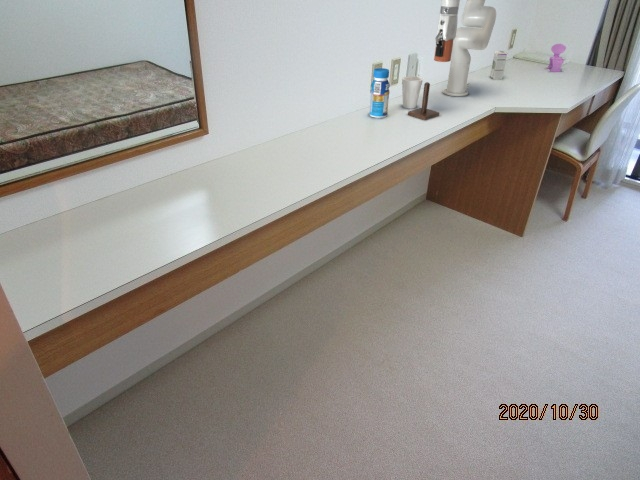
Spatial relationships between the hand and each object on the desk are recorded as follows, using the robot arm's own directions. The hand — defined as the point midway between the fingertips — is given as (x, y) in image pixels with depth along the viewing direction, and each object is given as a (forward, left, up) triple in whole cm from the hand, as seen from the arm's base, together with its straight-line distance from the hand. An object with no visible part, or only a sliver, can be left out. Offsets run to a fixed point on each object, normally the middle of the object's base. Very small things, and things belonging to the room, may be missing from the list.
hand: (443, 54), depth 201 cm
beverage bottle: (+29, -10, -24) cm, 39 cm away
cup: (0, 0, -2) cm, 2 cm away
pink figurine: (-120, -3, -24) cm, 123 cm away
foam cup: (+7, -10, -24) cm, 27 cm away
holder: (+13, +3, -24) cm, 27 cm away
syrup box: (-75, -15, -24) cm, 81 cm away
